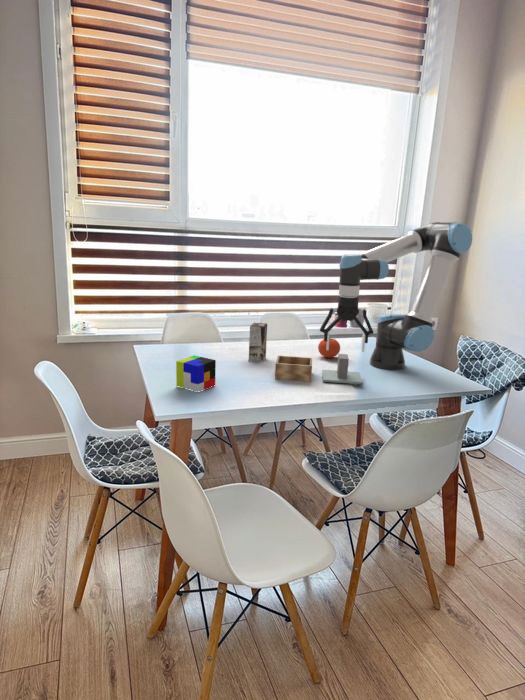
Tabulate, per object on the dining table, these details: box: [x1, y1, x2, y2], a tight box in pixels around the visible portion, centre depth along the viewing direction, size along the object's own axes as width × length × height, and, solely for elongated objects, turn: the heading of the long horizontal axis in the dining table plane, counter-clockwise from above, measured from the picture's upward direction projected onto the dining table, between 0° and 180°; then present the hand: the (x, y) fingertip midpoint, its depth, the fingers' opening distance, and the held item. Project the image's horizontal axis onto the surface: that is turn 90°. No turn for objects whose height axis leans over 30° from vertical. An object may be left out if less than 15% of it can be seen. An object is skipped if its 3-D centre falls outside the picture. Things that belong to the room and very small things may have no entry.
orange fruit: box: [317, 337, 341, 359], centre depth 217 cm, size 10×10×10 cm
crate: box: [274, 355, 313, 383], centre depth 186 cm, size 14×12×7 cm
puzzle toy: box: [175, 354, 217, 392], centre depth 171 cm, size 10×10×10 cm
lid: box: [321, 353, 364, 387], centre depth 184 cm, size 15×13×10 cm
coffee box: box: [248, 322, 268, 363], centre depth 208 cm, size 9×6×16 cm
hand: (345, 350), depth 183 cm, fingers open, 13 cm apart
